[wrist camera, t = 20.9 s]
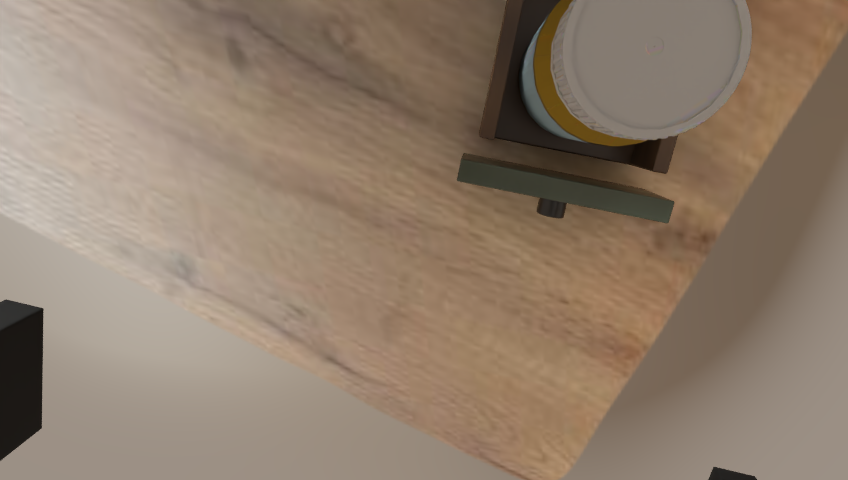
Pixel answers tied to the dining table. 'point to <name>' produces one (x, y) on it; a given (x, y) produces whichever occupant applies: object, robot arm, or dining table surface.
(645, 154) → the drawer
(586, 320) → the dining table surface
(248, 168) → the dining table surface
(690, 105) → the bottle
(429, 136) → the dining table surface
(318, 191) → the dining table surface
